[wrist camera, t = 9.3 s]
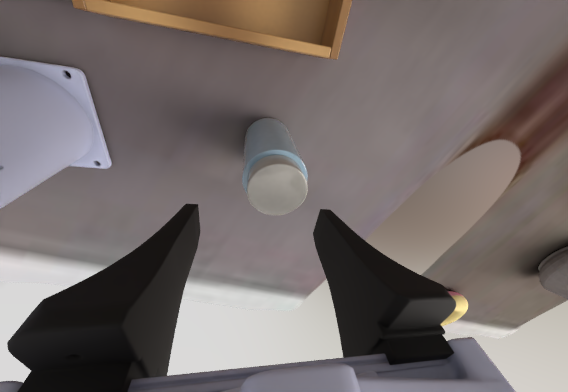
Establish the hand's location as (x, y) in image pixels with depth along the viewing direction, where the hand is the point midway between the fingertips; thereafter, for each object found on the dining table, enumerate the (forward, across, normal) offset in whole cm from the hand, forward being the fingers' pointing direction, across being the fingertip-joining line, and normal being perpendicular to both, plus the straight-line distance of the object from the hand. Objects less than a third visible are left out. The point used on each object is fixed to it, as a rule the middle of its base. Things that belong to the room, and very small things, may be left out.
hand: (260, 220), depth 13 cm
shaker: (+10, -1, -1) cm, 10 cm away
